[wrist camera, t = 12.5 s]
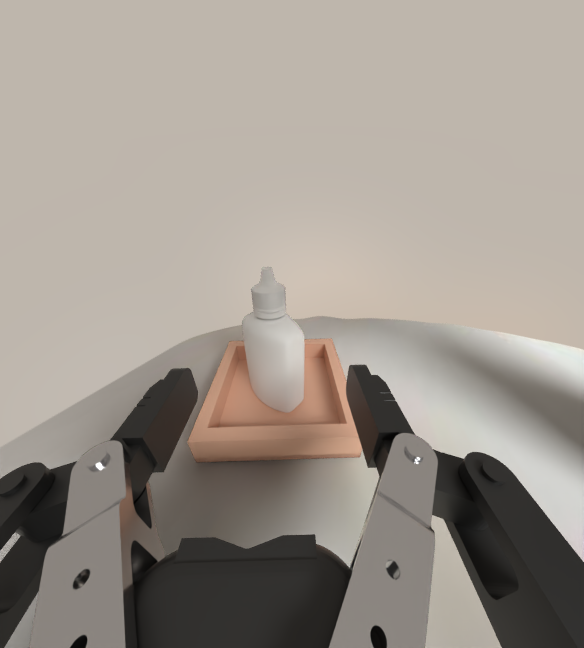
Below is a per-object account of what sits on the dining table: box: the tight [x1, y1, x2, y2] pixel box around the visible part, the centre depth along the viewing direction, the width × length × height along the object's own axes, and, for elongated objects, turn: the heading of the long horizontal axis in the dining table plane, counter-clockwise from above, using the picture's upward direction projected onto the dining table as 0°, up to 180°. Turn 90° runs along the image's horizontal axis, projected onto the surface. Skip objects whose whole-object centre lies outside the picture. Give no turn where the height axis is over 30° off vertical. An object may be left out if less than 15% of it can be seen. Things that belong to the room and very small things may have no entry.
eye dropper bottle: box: [242, 267, 305, 413], centre depth 17 cm, size 4×6×12 cm
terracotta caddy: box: [187, 339, 362, 462], centre depth 20 cm, size 12×12×2 cm
